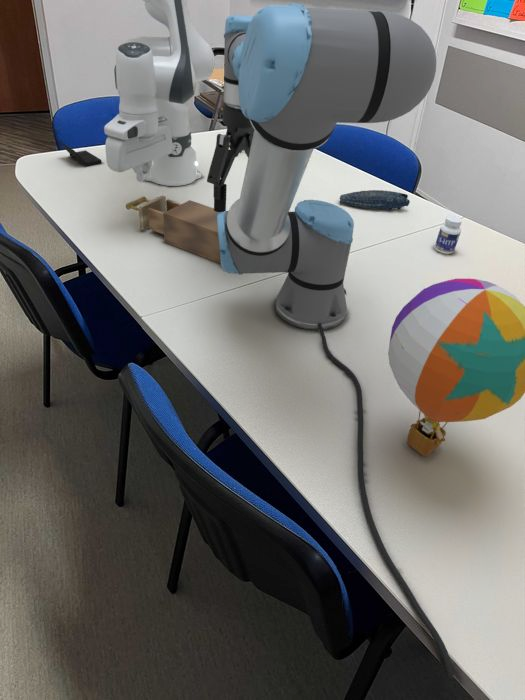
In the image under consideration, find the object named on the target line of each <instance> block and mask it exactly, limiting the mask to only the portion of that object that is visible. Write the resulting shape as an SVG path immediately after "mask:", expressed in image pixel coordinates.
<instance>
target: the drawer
mask: <svg viewBox="0 0 525 700" xmlns="http://www.w3.org/2000/svg"><path fill="white" fill-rule="evenodd" d="M181 204H182V203H180V202H177V201H174V200H172V199H167V196H165V195H160V196H158V197H155V198H153V199H151V200H150V199H148V198H147V197H146V196H141V197H139V198H137V199H134V200H132V201H130V202H128V203H125V209H126V210H134V211H136V212H138V217H139V228H140V229H141V230H145V229H148V230H151V231H153V232H155V233H159V234H161V235H164V218H163V213H164V212H166V211H168V210H171V209H173V208H175V207H177V206H179V205H181Z"/></svg>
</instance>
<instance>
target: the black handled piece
mask: <svg viewBox="0 0 525 700" xmlns="http://www.w3.org/2000/svg"><path fill="white" fill-rule="evenodd" d="M57 142H58V143H59V144H60V146H61V147H62V148H63V149H65V150H66V152H67V153H68V154H69V157H71V158H72V159H74V160H76V161H77V162H79V163H80V164H81V165H83V166H85V167H87V166H92V165H98V164H102V162H103V161H102V159H101V158H99V157H98V156H96V155H94V154H92V153H90V151H88V150H86V149H85V150H81V151H75V150H74V149H73V148H71V147H70V146H68V145H67V144H65V143H63V142H62V141H60V140H57Z"/></svg>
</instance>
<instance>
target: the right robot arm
mask: <svg viewBox="0 0 525 700" xmlns="http://www.w3.org/2000/svg"><path fill="white" fill-rule="evenodd" d="M224 23H225V25H224V33H223V38H224V49H223V50H224V54H223V57H224V58H223V59H224V64H223V96H222V97H223V98H222V101H223V103H224V104H223V105H222V123H223V125H224V126H225V127H226V133H225V134H221V133H217V134H216V143H215V148H214V152H213V155H212V158H211V159H212V160H211V163H210V165H209V166H210V167H209V170H208V174H207V178H206V182H207V183H208V184H212V185H213V208H214V211H216V212H219V213H218V215H217V225H218V236H219V246H220V257H221V264H220V266H221V269H222V271H223V272H224V273H226V274H234V275H236V274H237V275H239V276H240V275H245V274H246V275H247V274H269V273H270V274H271V273H287V275H286V278H285V279H284V282H283V283H282V285H281V287H280V290H279V291H278V294H277V296H276V300H275V311H276V313H277V315H278V316H279V317H280V318H281V319H282V320H283V321H284V322H286V323H287V324H289V325H291V326H293V327H296V328H300V329H304V330H310V331H318V332H319V335H320V337H321V342H322V347H323V350H324V352H325V354H326V355H327V357H328V358H329V360H331V361H332V362H333V363H334V364H335V365H336V366H338V367H339V368H340V369H342V370H343V371H344V372H345V373H346V374H347V375H348V376H349V377H350V378H351V380H352V382H353V383H354V386H355V389H356V393H357V395H356V396H357V414H358V415H357V417H358V427H357V428H358V429H357V430H358V431H357V474H358V475H357V479H358V486H359V492H360V498H361V503H362V508H363V510H364V514H365V518H366V521H367V525H368V526H369V529H370V532H371V535H372V537H373V539H374V541H375V544H376V546H377V548H378V550H379V553H380V554H381V556H382V558H383V560H384V562H385V564H386V566H387V567H388V569H389V571H390V573H392V575H393V577H394V579H395V580H396V582H397V583H398V584H399V586H400V588H401V590H402V591H403V592H404V595H405V596H406V597H407V600H408V601H409V603H410V606H411V607H412V608H413V610H414V612H415V613H416V615H417V616H418V617H419V619H420V621H421V622H422V624H423V625H424V627H425V629H427V631H428V632H429V634H430V636H431V638H432V639H433V641H434V643H435V645H436V646H437V648H438V651H439V654H440V656H441V658H442V662H443V666H444V670H445V671H444V673H445V675H446V677H447V678H448V679H450V680H452V679H453V678H454V671H453V664H452V662H451V658H450V654H449V652H448V649H447V647H446V645H445V643H444V641H443V639H442V637H441V635H440V633H439V632H438V630H437V629H436V627H435V626H434V625H433V624H432V622H431V620H430V619H429V617H428V616H427V615H426V613H425V612H424V610H423V609H422V607H421V605H420V604H419V602H418V600H417V599H416V597H415V595H414V594H413V592H412V590H411V589H410V587H409V585H408V584H407V581H406V580H405V579H404V578H403V576H402V575H401V573H400V571H399V569H398V568H397V566H396V565H395V563H394V562H393V559H392V558H391V557H390V554H389V553H388V550H387V549H386V547H385V545H384V543H383V541H382V539H381V536H380V534H379V530H378V529H377V527H376V524H375V521H374V518H373V515H372V511H371V507H370V504H369V499H368V494H367V489H366V484H365V483H366V482H365V474H364V423H365V422H364V421H365V420H364V403H363V391H362V387H361V384H360V381H359V379H358V378H357V376H356V375H355V373H354V372H353V371H352V370H351V369H350V368H349V367H348V366H346V365H345V364H344V363H343V362H342V361H340V360H339V359H338V358H336V357H335V356H334V354H332V352H331V351H330V349H329V346H328V343H327V337H326V334H325V332H324V330H325V331H326V330H329V329H333V328H336V327H337V326H339V325H340V324H342V323H343V322H344V320H345V318H346V315H347V310H348V309H347V308H348V307H347V306H348V305H347V297H346V296H348V295H347V289H345V286H344V280H345V275H346V271H347V267H348V261H349V257H350V253H351V252H350V251H351V247H352V244H353V241H354V239H353V236H354V235H353V234H354V228H355V221H354V219H353V217H352V216H351V214H350V213H349V212H348V211H346V210H345V209H343V208H342V207H341V206H338V205H336V204H333V203H331V202H328V201H323V200H319V199H303V200H301V201H299V202H297V204H296V206H295V207H294V211H290V210H291V208H292V205H293V202H294V200H295V197H296V195H297V192H298V189H299V187H300V185H301V182H302V179H303V177H304V174H305V172H306V169H307V166H308V164H309V161H310V159H311V157H312V154H313V151H314V150H315V149H318V148H320V147H321V146H323V145H324V144H325V143H327V141H328V140H329V139H330V137H331V136H332V134H333V132H334V130H335V127H336V125H337V123H339V124H340V123H342V124H345V123H346V124H378V123H385V122H389V121H393V120H396V119H398V118H400V117H403V116H404V115H407V114H408V113H410V112H412V111H413V110H414V109H415V108H416V107H417V106H419V105H420V104H421V102H422V101H423V100H424V99H425V98H426V96H427V95H428V93H429V92H430V90H431V87H432V86H433V83H434V81H435V77H436V73H437V53H436V49H435V46H434V44H433V41H432V38H430V36H429V35H428V33H427V32H426V31H425V29H424V28H423V27H422V26H421V25H419V24H418V23H416V22H415V21H414V20H412V19H411V18H408V17H406V16H404V15H402V14H397V13H393V12H389V11H380V10H379V11H373V10H372V11H371V10H360V9H340V8H322V7H321V8H320V7H306V6H305V5H303V4H299V3H289V4H288V5H267V6H264V7H262V8H261V9H258V11H257V12H255V14H254V15H247V14H232V15H228V16H227V17H226V19H225V22H224ZM243 151H244V153H245V156H246V157H247V163H246V167H245V171H244V177H243V182H242V186H241V189H240V190H241V191H240V196H239V198H238V199H236V200H235V201H234V202H233V203H232V204H231V205H230V207H229V209H228V210H227V186H228V185H227V183H226V181H227V177H228V176H229V173H230V171H231V169H232V166H233V163H234V162H235V159H236V158H237V157H239V155H240V154H241V153H242V152H243Z"/></svg>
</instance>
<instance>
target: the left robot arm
mask: <svg viewBox="0 0 525 700" xmlns="http://www.w3.org/2000/svg"><path fill="white" fill-rule="evenodd" d="M142 1H143V2H144V6H145V7H144V8H145V10H146V11H147V13H148V15H149V16H150V17H151V18H153V19H154V20H156V21H157V22H159V23H160V24H162V25H164V26H166V28H167V30H168V32H169V36H166V37H164V36H137V37H132V38H128V39H127V40H126V41H125V42H124V43H122V44H120V45H119V46H117V48H116V56H115V65H114V68H113V72H114V83H115V89H116V90H117V93H118V95H119V105H118V111H119V113H117V114H116V116H114V117H113V118H112V119H111V120H110V121H109V122H107V123H106V124H105V125H104V126H103V131H104V135H106V136H107V138H105V139H106V140H105V144H104V145H105V159H106V165H107V167H108V168H109V170H110V171H113V172H116V173H123V172H126V171H128V170H131V169H132V170H133V171H134V173H135V175H136V180H137V181H138V182H140V183H142V182H145V181H147V182H152V183H155V184H157V185H161V186H168V187H178V186H181V187H182V186H187V185H189V184H192V183H194V182H195V181H196V180H199V179H201V178H202V177H203V174H202V172H201V171H199V170H198V166H199V163H198V162H197V152H196V150H195V149H194V147H192V133H191V131H190V106H189V103H188V101H190V99H191V98H193V97H194V95H195V92H196V87H197V82H198V83H199V82H203V81H207V80H209V79H210V77H211V76H212V74H213V72H214V70H215V65H216V59H215V54H214V51H213V49H212V47H211V45H210V43H208V42H207V41H206V40H205V39H203V37H202V36H201V35H200V34H199V32H198V30H197V29H196V28H195V26H194V24H193V22H192V19H191V16H190V13H189V7H188V0H142Z"/></svg>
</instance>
